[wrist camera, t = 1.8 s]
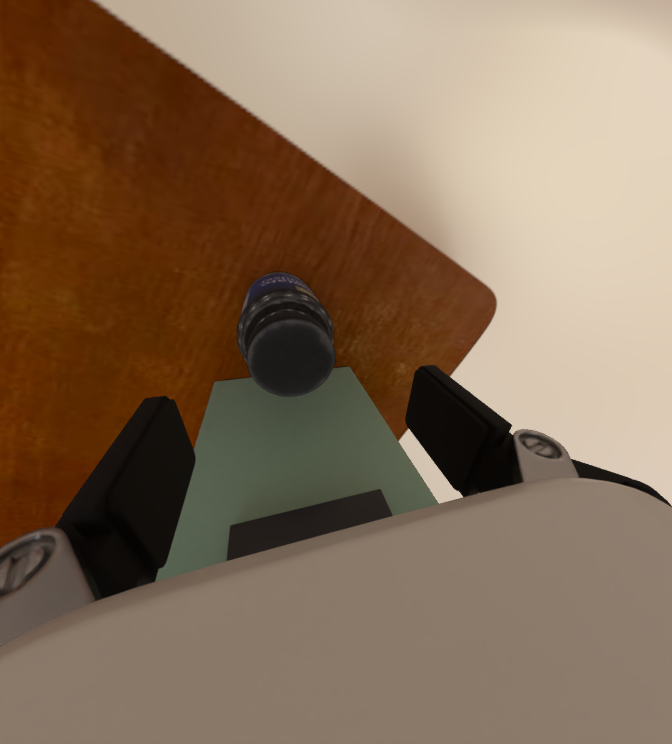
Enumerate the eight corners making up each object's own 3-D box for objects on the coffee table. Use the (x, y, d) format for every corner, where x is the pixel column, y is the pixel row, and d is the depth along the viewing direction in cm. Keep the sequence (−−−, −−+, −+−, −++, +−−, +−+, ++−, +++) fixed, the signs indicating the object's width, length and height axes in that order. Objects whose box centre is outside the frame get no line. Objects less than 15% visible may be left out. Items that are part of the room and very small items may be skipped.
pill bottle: (319, 279, 22) (362, 315, 13) (307, 341, 24) (335, 409, 15) (246, 263, 20) (234, 292, 10) (241, 333, 22) (228, 406, 13)
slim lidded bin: (207, 377, 24) (-91, 1210, 4) (354, 361, 27) (619, 736, 7) (226, 443, 28) (141, 976, 8) (350, 423, 32) (504, 756, 12)
